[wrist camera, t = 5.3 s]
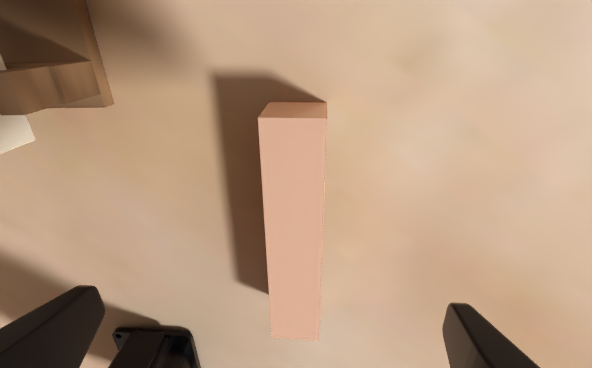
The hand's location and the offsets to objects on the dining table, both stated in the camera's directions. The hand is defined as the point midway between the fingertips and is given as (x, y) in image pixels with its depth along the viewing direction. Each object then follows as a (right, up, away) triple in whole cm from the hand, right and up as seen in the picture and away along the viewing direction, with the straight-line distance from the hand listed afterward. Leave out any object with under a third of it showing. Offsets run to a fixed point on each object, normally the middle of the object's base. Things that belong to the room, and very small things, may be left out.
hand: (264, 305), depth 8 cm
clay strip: (+1, +1, +12) cm, 12 cm away
